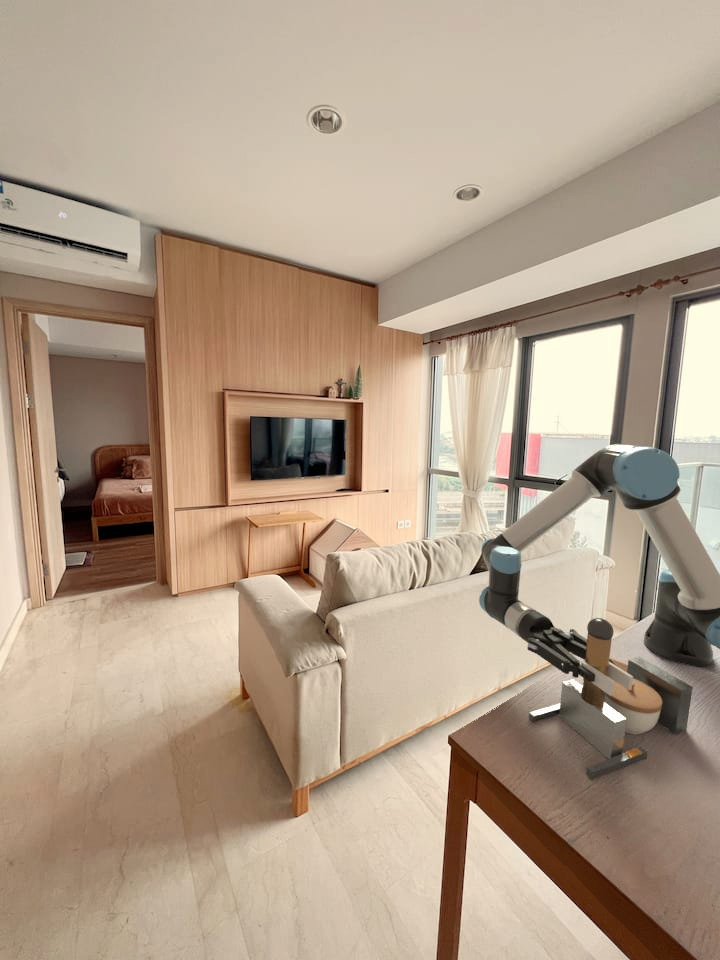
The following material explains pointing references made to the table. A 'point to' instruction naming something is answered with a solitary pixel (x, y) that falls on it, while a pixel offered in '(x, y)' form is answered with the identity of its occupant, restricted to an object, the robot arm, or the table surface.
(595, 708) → the gold upright rod
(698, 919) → the table surface
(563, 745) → the table surface
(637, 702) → the lidded jar
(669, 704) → the bench
